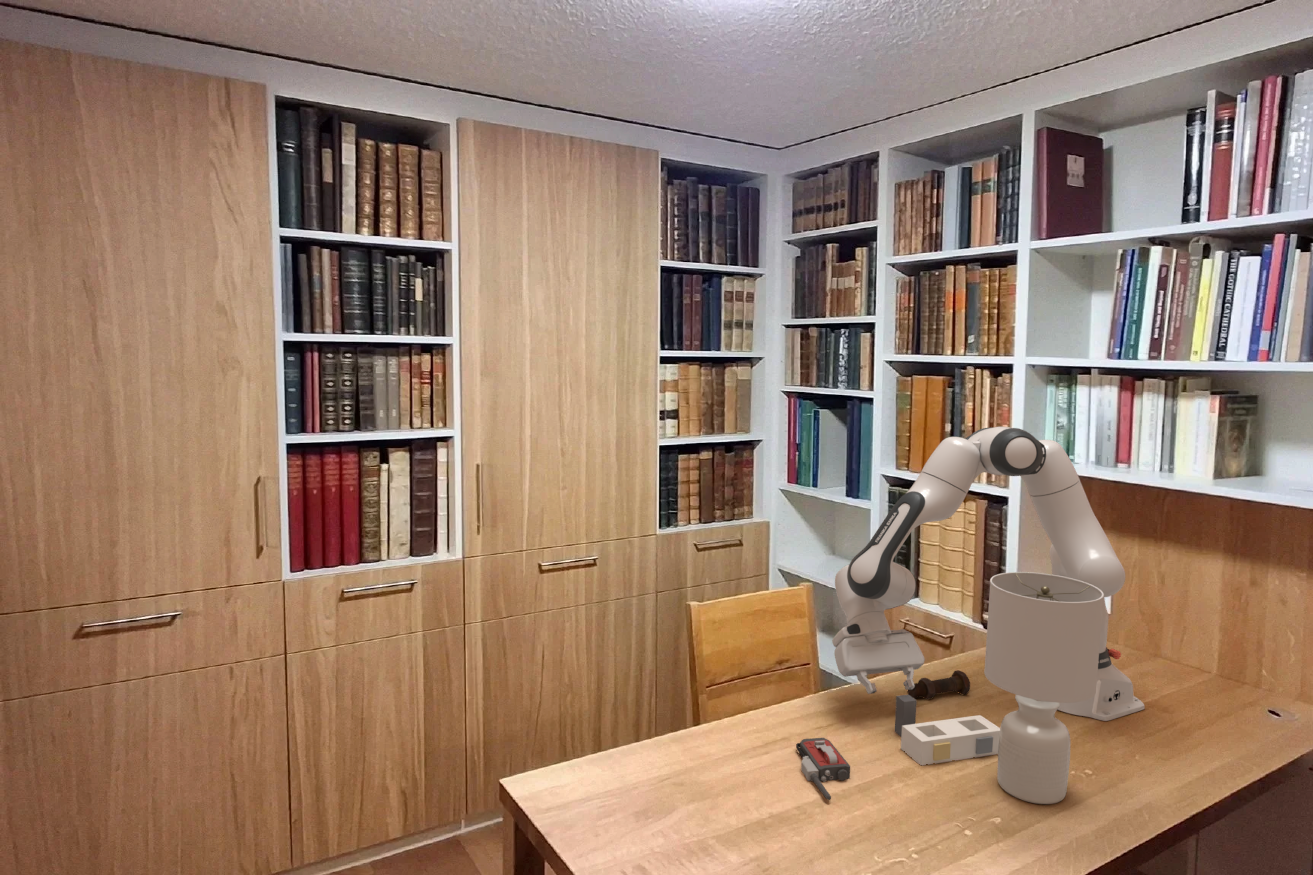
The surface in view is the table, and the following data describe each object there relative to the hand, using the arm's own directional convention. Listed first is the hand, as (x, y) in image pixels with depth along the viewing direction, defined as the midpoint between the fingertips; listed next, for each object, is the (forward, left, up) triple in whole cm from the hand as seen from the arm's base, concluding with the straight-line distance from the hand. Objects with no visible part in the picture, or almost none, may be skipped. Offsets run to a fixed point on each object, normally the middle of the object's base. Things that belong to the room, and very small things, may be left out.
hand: (891, 690), depth 177 cm
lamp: (-12, +29, -8) cm, 33 cm away
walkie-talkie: (+23, +15, -9) cm, 29 cm away
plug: (-1, +4, -8) cm, 9 cm away
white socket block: (-6, +13, -8) cm, 16 cm away
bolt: (-20, -11, -8) cm, 24 cm away
